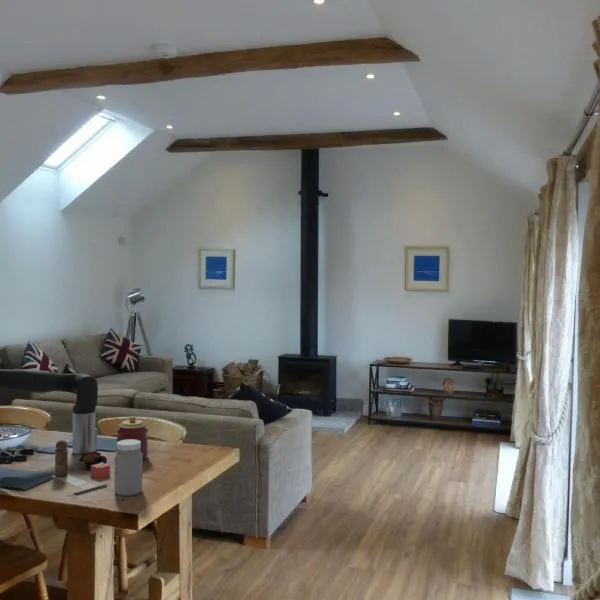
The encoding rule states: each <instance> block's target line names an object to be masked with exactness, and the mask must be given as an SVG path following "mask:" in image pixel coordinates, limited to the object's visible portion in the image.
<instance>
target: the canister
mask: <svg viewBox="0 0 600 600" xmlns="http://www.w3.org/2000/svg"><path fill="white" fill-rule="evenodd" d="M146 426H147V423H146V422H144V421H143V420H141V419H136V417H135V416H133V415H132V416H130V417H129V418H128V419H127V420H123V421H122V422H121V423H119V424H118V427H119V428H117V429H116V431H115V432H116V433H117V437H116V440H115V441H116V443H117V442H119V441H121V440H126V439H134V440H139V441H141V448H140V449H141V451H140V452H141V453H142V455H143V461H145V460H146V458H148V457H149V456H148V455H149V450H148V449H149V444H148V443H149V440H148V439H149V436H148V432H149V428H147V427H146ZM117 450H118V449H117V448H116V453H117ZM116 453H115V454H116Z"/></svg>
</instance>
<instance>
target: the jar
mask: <svg viewBox="0 0 600 600" xmlns="http://www.w3.org/2000/svg"><path fill="white" fill-rule="evenodd" d="M140 448H141V441H139V440H134V439H126V440H121V441H119V442H117V441H116V452H117V453H115V454H114V491H113V492H114V493H115V494H116V495H118V496H121V497H133V496H136V494H137V495H138V494H140V493H141V492H142V490H143V461H144V460H143V455H142V453H141V452H140V451H141V449H140ZM117 449H118V450H117ZM132 495H133V496H132Z"/></svg>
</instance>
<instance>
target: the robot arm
mask: <svg viewBox="0 0 600 600" xmlns="http://www.w3.org/2000/svg"><path fill="white" fill-rule="evenodd" d="M97 381H98V380H97V379H96V378H95V377H94V376H91V375H89V374H86V373H59V372H54V371H48V370H41V369H29V368H28V369H25V368H19V369H18V368H17V369H16V368H15V369H14V368H13V369H2V368H1V369H0V389H6V390H12V391H16V392H17V391H18V392H23V393H34V394H35V393H37V394H39V393H40V394H43V393H51V392H65V393H70V394H71V393H72V394H75V395H76V401H75V404H74V405H73V406H72V453H74V455H75V454H77V455H82V454H83V453H87V452H97V451H98V428H96V407H97V405H98V397H99V395H98V393H99V388H98V387H99V385H98V382H97ZM34 454H35V450H34V449H33V448H24V447H23V446H8V447H6V448H5V449H1V448H0V465H12V464H14V463H26V462H27V458H28V456H34Z"/></svg>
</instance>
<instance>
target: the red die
mask: <svg viewBox="0 0 600 600" xmlns="http://www.w3.org/2000/svg"><path fill="white" fill-rule="evenodd" d="M110 476H111V464H107V463H106V464H105V463H103V462H101V463H99V464H95V465H91V471H90V477H93V478H96V479H98V480H99V479H103V478H106V477H110Z"/></svg>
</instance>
